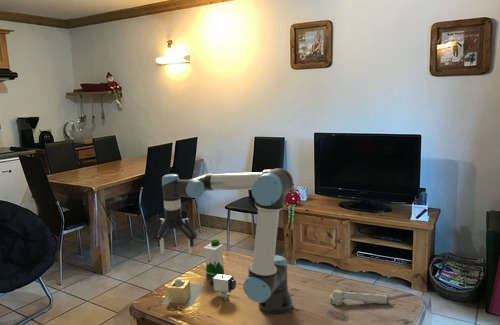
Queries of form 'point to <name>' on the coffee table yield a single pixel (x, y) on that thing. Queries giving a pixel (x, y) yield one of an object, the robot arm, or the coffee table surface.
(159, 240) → the robot arm
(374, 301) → the beige knobbed bar
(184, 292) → the collar
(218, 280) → the pneumatic valve
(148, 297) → the coffee table surface
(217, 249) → the milk carton
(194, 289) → the post plate
